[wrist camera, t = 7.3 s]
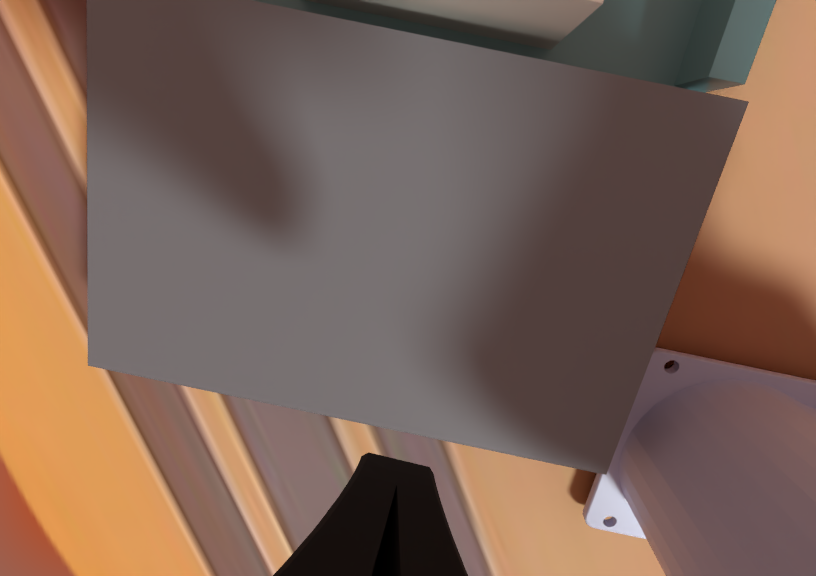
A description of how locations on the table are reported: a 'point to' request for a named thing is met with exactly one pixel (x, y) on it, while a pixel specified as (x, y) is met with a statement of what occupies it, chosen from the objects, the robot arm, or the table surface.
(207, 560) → the table surface
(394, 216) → the bench plate
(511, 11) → the cream tile
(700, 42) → the tray
